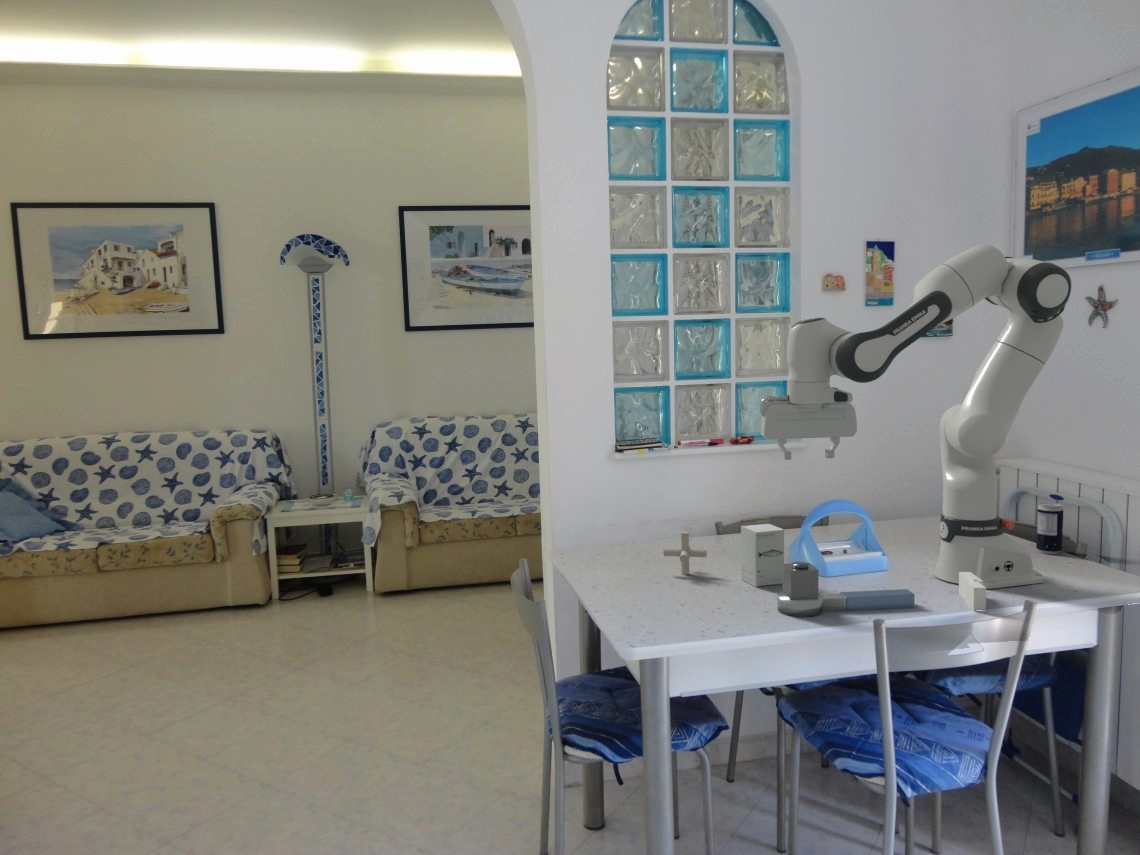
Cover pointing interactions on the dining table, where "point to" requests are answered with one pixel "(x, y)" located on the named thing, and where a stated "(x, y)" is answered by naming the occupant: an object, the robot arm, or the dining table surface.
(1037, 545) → the beverage can
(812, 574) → the dark grey block
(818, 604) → the ratchet
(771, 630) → the dining table surface
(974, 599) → the notched white block
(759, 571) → the supplement box
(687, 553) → the pipe connector
